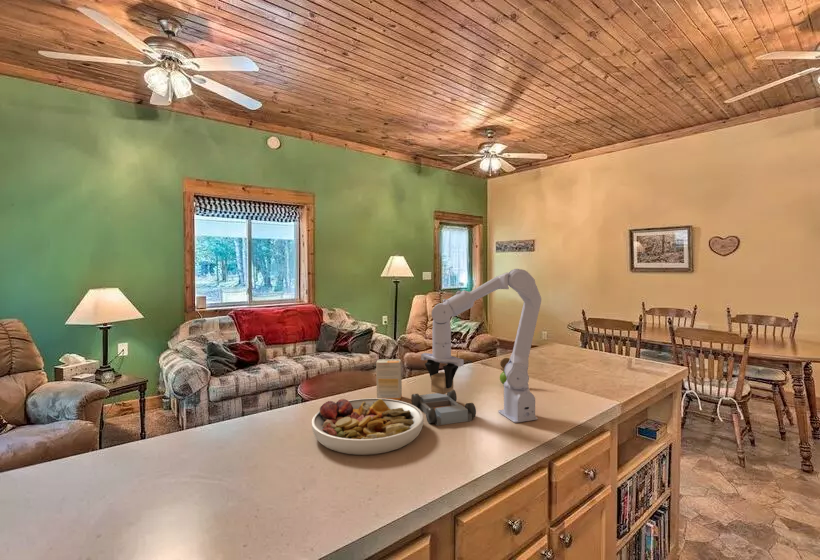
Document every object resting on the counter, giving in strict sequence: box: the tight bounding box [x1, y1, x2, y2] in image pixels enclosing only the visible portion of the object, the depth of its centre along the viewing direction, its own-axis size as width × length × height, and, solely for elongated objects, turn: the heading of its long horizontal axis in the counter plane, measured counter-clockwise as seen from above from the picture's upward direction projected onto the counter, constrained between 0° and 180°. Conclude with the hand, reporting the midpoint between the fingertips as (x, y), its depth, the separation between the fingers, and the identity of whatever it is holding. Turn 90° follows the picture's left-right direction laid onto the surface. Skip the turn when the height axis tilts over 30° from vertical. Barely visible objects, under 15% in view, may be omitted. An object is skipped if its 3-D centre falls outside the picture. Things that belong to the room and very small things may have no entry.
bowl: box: [311, 397, 424, 456], centre depth 111 cm, size 30×30×8 cm
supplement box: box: [375, 358, 403, 401], centre depth 140 cm, size 8×5×13 cm, turn 84°
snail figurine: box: [499, 357, 510, 385], centre depth 153 cm, size 5×6×12 cm
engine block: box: [430, 371, 454, 395], centre depth 127 cm, size 4×6×5 cm
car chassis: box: [410, 388, 477, 427], centre depth 127 cm, size 19×14×4 cm
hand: (441, 386), depth 127 cm, fingers closed on engine block, 4 cm apart
